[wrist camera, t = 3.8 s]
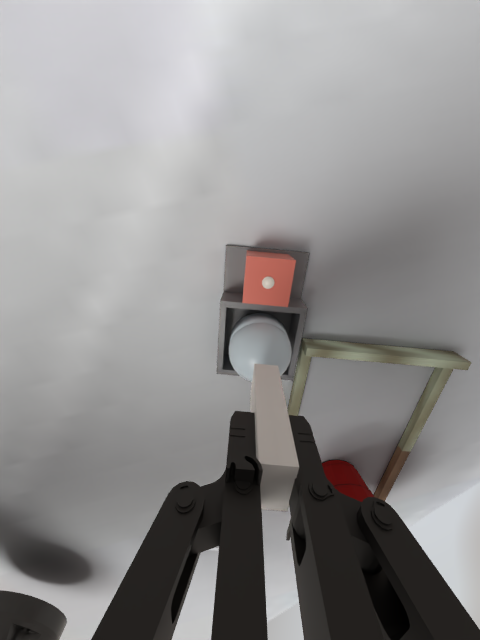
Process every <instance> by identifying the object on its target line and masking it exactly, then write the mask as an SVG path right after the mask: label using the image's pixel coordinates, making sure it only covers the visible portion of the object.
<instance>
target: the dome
mask: <svg viewBox="0 0 480 640" xmlns="http://www.w3.org/2000/svg"><path fill="white" fill-rule="evenodd" d="M291 354H292V350H291V344H290V341H289V338H288V335H287V332H286V329H285V327H284V326H283V324H282V323H281V322H280V321H279V320H278V319H277V318H275V317H273V316H271V315H268V314H264V313H255V314H250V315H247V316H245V317H243V318H242V319H240V320H239V321H238V322H237V323H236V324H235V326H234V327H233V330H232V332H231V337H230V344H229V358H230V362H231V364H232V366H233V368H234V370H235V371H236V372H237V373H238V374H239V375H240V376H241V377H242V378H244V379H246V380H248V381H250V382H252V379H253V371H254V364H265V365H277V366H278V367H279V372H280V376H281V375H282V374H283V373H284V372H285V371H286V369H287V367H288V366H289V363H290V360H291Z"/></svg>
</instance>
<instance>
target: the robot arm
mask: <svg viewBox="0 0 480 640" xmlns="http://www.w3.org/2000/svg"><path fill="white" fill-rule="evenodd" d="M289 505H290V512H291V520H290V523H289V527H288V530H287V539H286V540H290V536H291V544H292V551H293V559H294V566H295V574H296V582H297V589H298V597H299V604H300V612H301V619H302V627H303V634H304V640H480V630H479V628H478V627H477V625H476V624H475V622H474V621H473V620H472V618H471V617H470V615H469V614H468V613H467V612H466V610H465V609H464V607H463V606H462V604H461V603H460V601H459V600H458V599H457V597H456V596H455V594H454V593H453V591H452V590H451V589H450V587H449V586H448V585H447V583H446V582H445V580H444V579H443V577H442V576H441V574H440V573H439V572H438V570H437V569H436V567H435V566H434V565H433V563H432V562H431V560H430V559H429V558H428V556H427V555H426V553H425V552H424V550H422V548H421V546H420V545H419V543H418V542H417V541H416V539H415V538H414V536H413V535H412V534H411V532H410V531H409V529H408V528H407V526H406V525H405V524H404V522H403V521H402V519H401V518H400V517H399V515H398V514H397V513H396V511H395V510H394V509H393V508H392V507H391V506H390V505H389V504H387V503H386V502H385V501H383V500H381V499H379V498H376V497H367V498H365V499H363V502H360V501H358V500H356V499H353V498H351V497H349V496H346V495H344V494H342V493H341V492H339V491H338V490H337V489H335V488H334V486H333V485H332V483H331V482H330V481H329V480H328V479H327V478H326V475H325V473H324V469H323V466H322V463H321V460H320V456H319V453H318V450H317V446H316V444H315V440H314V437H313V433H312V430H311V427H310V424H309V423H308V422H307V420H306V419H305V418H304V416H293V415H288V410H287V406H286V401H285V396H284V391H283V386H282V382H281V377H280V372H279V367H278V366H277V365H265V364H254V371H253V379H252V387H251V395H250V412H241V411H235V413H234V414H233V416H232V417H231V421H230V433H229V444H228V455H227V465H226V470H225V472H224V474H223V475H222V477H221V478H220V479H219V480H217V481H216V482H214V483H211V484H208V485H205V486H201V487H200V486H199V485H197V484H196V483H194V482H188V481H186V482H182V483H179V484H178V485H176V486H175V487H174V488H173V489H172V490H171V491H170V493H169V494H168V496H167V497H166V499H165V501H164V503H163V505H162V507H161V509H160V511H159V513H158V514H157V516H156V518H155V520H154V522H153V524H152V526H151V528H150V530H149V532H148V533H147V535H146V537H145V539H144V541H143V543H142V545H141V547H140V549H139V550H138V552H137V554H136V556H135V558H134V560H133V562H132V564H131V566H130V567H129V569H128V571H127V573H126V575H125V577H124V579H123V581H122V583H121V584H120V586H119V588H118V590H117V592H116V594H115V596H114V598H113V600H112V601H111V603H110V605H109V607H108V609H107V611H106V613H105V615H104V617H103V618H102V620H101V622H100V624H99V626H98V628H97V630H96V632H95V634H94V635H93V637H92V639H91V640H171V639H172V636H173V633H174V630H175V627H176V624H177V621H178V618H179V615H180V612H181V609H182V606H183V603H184V600H185V597H186V594H187V591H188V588H189V585H190V582H191V579H192V576H193V573H194V570H195V567H196V564H197V561H198V558H199V555H200V553H201V552H203V551H206V550H209V549H211V548H214V547H217V546H219V556H218V568H217V579H216V591H215V602H214V613H213V625H212V636H211V640H268V638H267V617H266V596H265V575H264V554H263V533H262V512H261V509H264V510H275V511H288V507H289ZM66 623H67V619H66V617H65V615H64V614H63V613H62V612H61V611H60V610H59V609H57V608H56V607H55V606H53V605H51V604H49V603H47V602H45V601H43V600H40V599H38V598H35V597H32V596H29V595H25V594H21V593H16V592H10V591H0V640H59V639H60V637H61V634H62V632H63V630H64V628H65V626H66Z"/></svg>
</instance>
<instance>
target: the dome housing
mask: <svg viewBox="0 0 480 640" xmlns="http://www.w3.org/2000/svg"><path fill="white" fill-rule="evenodd" d="M308 257H309V253H307V252H296V251H285V250H274V249H263V248H251V247H240V246H229V245H226V259H225V276H224V292H223V295H222V298H221V301H220V318H219V337H218V356H217V374H226V375H237V376H240V375H239V374H238V373H237V372H236V371H235V370H234V368H233V366H232V364H231V362H230V358H229V344H230V337H231V332H232V330H233V327H234V326H235V324H236V323H237V322H238V321H239V320H240V319H242V318H243V317H245V316H247V315H250V314H255V313H264V314H268V315H271V316H273V317H275V318H277V319H278V320H279V321H280V322H281V323H282V324H283V326H284V327H285V329H286V332H287V335H288V338H289V341H290V344H291V350H292V354H291V360H290V363H289V366H288V367H287V369H286V371H285V372H284V373H283V374H282V375H281V376H280V377H281V379H283V380H293V377H294V372H295V367H296V363H297V358H298V353H299V348H300V343H301V339H302V334H303V329H304V324H305V319H306V314H307V310H308V308H307V307H306V305H305V304H304V303H303V301H302V300H301V294H302V289H303V283H304V278H305V273H306V268H307V263H308Z"/></svg>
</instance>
